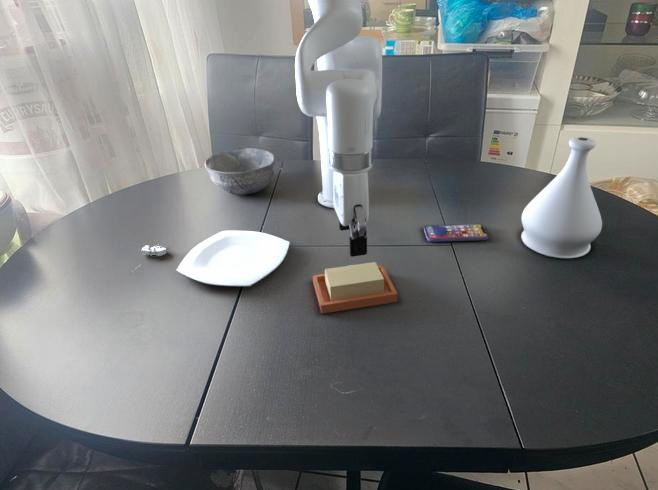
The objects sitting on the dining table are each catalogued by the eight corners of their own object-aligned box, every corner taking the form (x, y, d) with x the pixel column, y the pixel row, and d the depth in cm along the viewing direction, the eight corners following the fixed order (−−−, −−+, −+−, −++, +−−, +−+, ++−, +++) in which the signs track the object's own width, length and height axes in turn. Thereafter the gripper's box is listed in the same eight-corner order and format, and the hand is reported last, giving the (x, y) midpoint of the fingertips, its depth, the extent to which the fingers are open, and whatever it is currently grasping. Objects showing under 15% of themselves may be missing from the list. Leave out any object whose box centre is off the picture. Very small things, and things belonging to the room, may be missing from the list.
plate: (255, 300, 92) (253, 293, 91) (163, 280, 99) (161, 273, 98) (302, 245, 110) (301, 238, 108) (222, 231, 117) (220, 225, 115)
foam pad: (325, 284, 95) (324, 269, 93) (375, 277, 97) (375, 261, 95) (331, 302, 90) (330, 287, 88) (383, 294, 92) (384, 278, 89)
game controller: (170, 247, 110) (168, 238, 109) (156, 274, 101) (153, 265, 99) (147, 248, 110) (144, 239, 109) (130, 275, 101) (127, 266, 99)
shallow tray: (313, 283, 97) (312, 275, 95) (382, 273, 99) (382, 265, 98) (321, 313, 88) (320, 305, 87) (397, 301, 90) (397, 293, 89)
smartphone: (422, 228, 115) (480, 226, 115) (427, 242, 109) (489, 240, 109) (423, 225, 114) (481, 223, 115) (428, 239, 108) (489, 237, 108)
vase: (504, 228, 114) (523, 130, 100) (565, 220, 117) (593, 123, 102) (542, 265, 100) (571, 157, 86) (611, 254, 103) (650, 148, 88)
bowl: (260, 208, 127) (256, 175, 121) (197, 201, 132) (190, 169, 126) (288, 180, 143) (285, 149, 138) (231, 174, 148) (226, 145, 143)
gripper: (321, 142, 83) (325, 222, 93) (339, 180, 70) (342, 269, 80) (360, 138, 85) (360, 218, 95) (385, 174, 71) (383, 263, 81)
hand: (352, 241), depth 87 cm, fingers open, 9 cm apart
